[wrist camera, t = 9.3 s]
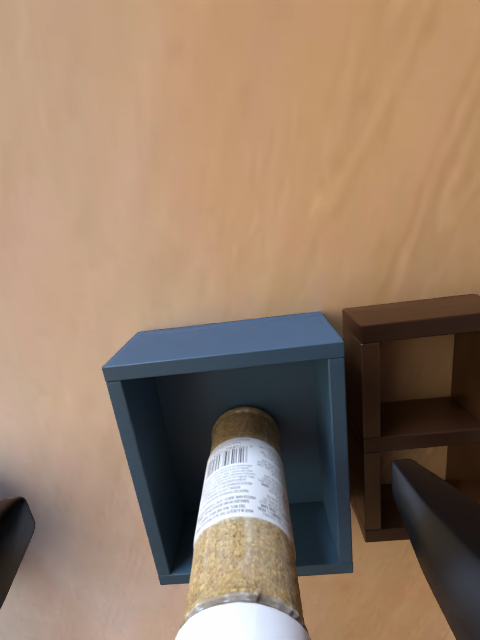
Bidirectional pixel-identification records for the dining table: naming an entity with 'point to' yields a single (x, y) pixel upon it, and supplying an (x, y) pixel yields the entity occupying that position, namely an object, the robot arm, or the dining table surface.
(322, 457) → the open box shelf
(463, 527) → the robot arm
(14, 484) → the dining table surface
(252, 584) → the sprinkles bottle
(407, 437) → the brown cubby shelf
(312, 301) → the dining table surface
